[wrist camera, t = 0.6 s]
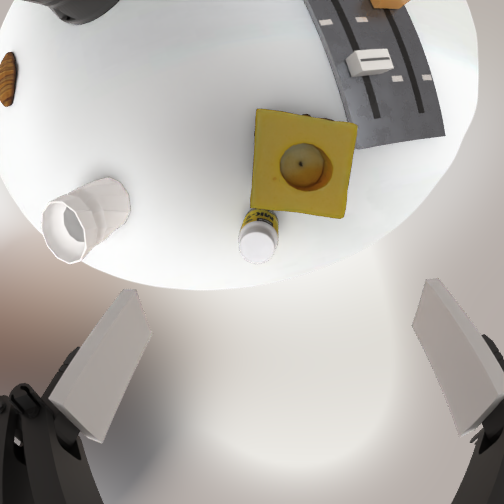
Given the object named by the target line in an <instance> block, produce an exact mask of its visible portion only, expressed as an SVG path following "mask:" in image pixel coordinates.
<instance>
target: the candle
mask: <svg viewBox="0 0 504 504" xmlns="http://www.w3.org/2000/svg"><path fill="white" fill-rule="evenodd" d="M357 128H358V127H357V125H356V124H354V123H350V122H340V121H333V120H330V119H327V118H315V117H311V116H310V115H308V114H303V115H297V114H292V113H287V112H283V111H276V110H267V109H257V110H256V118H255V133H254V136H255V145H254V162H253V176H252V190H251V197H250V208H256V209H265V210H274V211H289V212H299V213H305V214H311V215H316V216H324V217H330V218H337V219H341V218H343V217H344V214H345V210H346V202H347V190H348V185H349V178H350V172H351V166H352V159H353V153H354V148H355V143H356V137H357Z"/></svg>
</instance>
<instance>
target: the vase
mask: <svg viewBox="0 0 504 504" xmlns="http://www.w3.org/2000/svg"><path fill="white" fill-rule="evenodd" d="M130 211H131V208H130V199H129V194H128V193H127V191H126V190H125V188H124V187H123V185H122V184H121V182H119V181H116V180H114V179H112V178H110V177H107V178H103V179H99V180H96V181H93V182H91V183H88V184H86V185H83V186H81V187H79V188H77V189H75V190H73V191H71V192H69V193H68V195H67V194H65V195H63V196H60V197H58V198H56V199H54V200H52V201H50V202H49V203H48V204H47V206H46V207H45V209H44V210H43V211H42V217H41V230H42V233H43V236H44V239H45V242H46V245H47V246H48V248H49V249H50V250H51V251H52V253H53V254H54V255H55V256H56V258H58V259H60V260H62V261H64V262H66V263H68V264H73V263H76V262H79V261H82V260H83V259H84V258H85V256H86V255H87V254H88V253H89V252H90V251H91V250H92V249H93V248H94V247H95V246H96V245H98V244H100V243H101V242H103V241H104V240H106V239H107V238H108V237H109V236H110V235H111V234H112V233H113V232H114V231H115V230H116V229H118V228H119V227H120V226H122V225H124V224H125V222H126V220H127V218H128V215H129V213H130Z"/></svg>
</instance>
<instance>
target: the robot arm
mask: <svg viewBox="0 0 504 504" xmlns="http://www.w3.org/2000/svg"><path fill="white" fill-rule="evenodd" d="M24 1H28V2H33V3H37V4H42V5H45V6H48V7H49V8H50V9H51V10H52V11H53V12H54V13H55V14H56V15H57V16H58V17H59V18H60V19H61V20H62V21H64V22H67V23H71V24H75V25H79V24H84V23H87V22H90V21H92V20H94V19H96V18H98V17H99V16H101V15H102V14H104V13H105V12H106V11H108V10H109V9H110V8H111V7H113V6H114V5H115V4H116V3H117V2H118V1H119V0H24ZM412 327H413V329H414V331H415V333H416V335H417V337H418V339H419V341H420V343H421V345H422V347H423V349H424V351H425V353H426V356H427V357H428V360H429V362H430V364H431V366H432V369H433V371H434V373H435V375H436V378H437V380H438V382H439V385H440V387H441V389H442V392H443V394H444V397H445V399H446V402H447V404H448V407H449V410H450V412H451V415H452V418H453V420H454V423H455V426H456V429H457V432H458V435H459V437H461V436H463V435H466V434H468V433H470V432H472V431H474V430H475V429H476V428H477V427H478V426H479V425H480V424H481V423H482V425H483V428H482V429H481V430H480V431H479V433H477V434H476V435H475V436H474V437H473V438H472V439H471V441H470V443H472V442H474V441H475V440H476V439H477V438H478V440H477V441H476V443H475V445H476V446H475V449H474V452H473V455H472V458H471V460H470V463H469V466H468V468H467V471H466V473H465V476H464V478H463V480H462V483H461V485H460V487H459V489H458V491H457V493H456V495H455V498H454V499H453V502H452V503H451V504H504V360H503V356H502V355H501V353H500V352H499V350H498V348H497V347H496V345H495V344H494V342H493V341H492V340H491V339H490V338H488V337H487V336H486V335H485V334H484V335H481V334H480V333H479V331H478V330H477V328H476V327H475V325H474V324H473V322H472V321H471V320H470V318H469V317H468V316H467V314H466V313H465V311H464V310H463V309H462V307H461V306H460V305H459V303H458V302H457V301H456V299H455V298H454V297H453V296H452V294H451V293H450V292H449V290H448V289H447V288H446V287H445V285H444V284H443V283H442V282H441V280H440V279H439V278H434V279H426V280H425V284H424V288H423V291H422V295H421V298H420V302H419V305H418V308H417V312H416V314H415V317H414V320H413V324H412ZM151 336H152V331H151V328H150V326H149V323H148V320H147V318H146V315H145V313H144V310H143V307H142V304H141V302H140V299H139V296H138V293H137V290H134V289H123V290H122V291H121V292H120V294H119V295H118V296H117V298H116V299H115V300H114V302H113V303H112V304H111V306H110V307H109V308H108V310H107V311H106V312H105V314H104V315H103V316H102V318H101V319H100V321H99V322H98V323H97V325H96V326H95V328H94V329H93V330H92V332H91V333H90V335H89V336H88V338H87V339H86V340H85V342H84V343H83V345H82V346H81V347H77V348H76V349H75V350H73V351H72V352H71V353H70V354H69V355H68V357H67V358H66V360H65V361H64V364H63V365H62V366H61V367H60V369H59V372H57V374H56V375H55V376H54V378H53V379H52V381H51V383H50V384H49V386H48V387H47V389H46V391H45V392H44V394H43V396H42V397H41V398H40V397H39V396H38V394H37V393H36V392H35V391H34V390H33V389H32V387H31V386H30V385H29V384H26V383H22V384H19V385H17V386H16V387H15V388H14V389H13V390H12V391H11V393H10V395H9V397H8V396H5V395H3V396H0V504H104V503H103V501H102V499H101V496H100V494H99V491H98V489H97V486H96V484H95V481H94V479H93V476H92V473H91V470H90V467H89V464H88V461H87V458H86V455H85V451H84V448H83V444H82V441H81V439H80V437H79V436H78V434H79V432H80V431H81V432H82V433H83V434H84V435H85V436H86V437H87V438H89V439H92V440H94V441H97V442H99V443H103V441H104V438H105V436H106V434H107V431H108V429H109V426H110V424H111V422H112V419H113V417H114V415H115V412H116V410H117V408H118V406H119V404H120V401H121V399H122V397H123V395H124V392H125V390H126V388H127V386H128V384H129V382H130V379H131V377H132V375H133V373H134V371H135V368H136V367H137V365H138V362H139V361H140V358H141V356H142V354H143V352H144V350H145V348H146V346H147V344H148V342H149V340H150V338H151ZM14 437H16V438H17V439H18V440H20V441H21V444H20V446H18V445H17V444H16V443H14Z"/></svg>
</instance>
